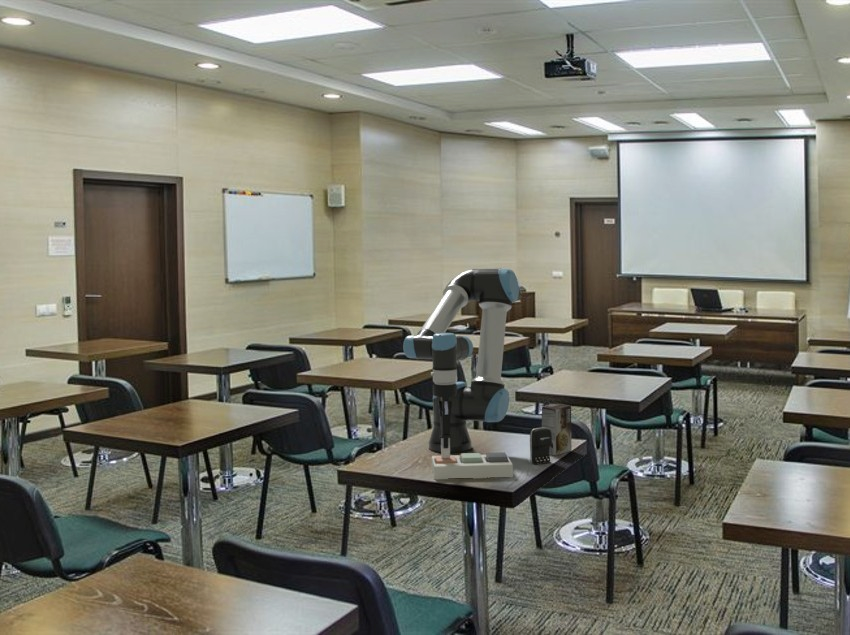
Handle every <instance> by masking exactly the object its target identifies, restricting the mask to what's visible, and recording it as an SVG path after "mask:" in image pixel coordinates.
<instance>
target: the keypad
mask: <svg viewBox="0 0 850 635" xmlns="http://www.w3.org/2000/svg"><path fill="white" fill-rule="evenodd" d="M480 455H481V457H482V463H461V454H459V455H458V454H457V455H456V454H455V455H454V454H450V456H455V459H456V463H445V464H436V456H437V455H432V456H431V470H432V475H433V478H434V479H435V480H449V479H448V478H473V479H490V478H489V477H511V478H514V471H513V470H514V468H513V467H514V466H513V465H514V464H513V462H512V461H511V460H510V458H509V456H508V454H507V453H506V455H507V457H508V462H486V454H480ZM487 477H488V478H487Z"/></svg>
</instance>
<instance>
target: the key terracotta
mask: <svg viewBox="0 0 850 635" xmlns="http://www.w3.org/2000/svg"><path fill="white" fill-rule="evenodd" d="M435 456H436V464H445V463H456V459H455V456H450V458H441V455H435Z"/></svg>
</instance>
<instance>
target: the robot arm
mask: <svg viewBox="0 0 850 635" xmlns="http://www.w3.org/2000/svg"><path fill="white" fill-rule="evenodd" d="M519 292H520V288H519V281H518V278H517V276H516V273H515V272H514V271H513V269H510V268H501V267H500V268H471V269H467V270H465V271H463V272H460V273H459V274H458V275H456V276H455V277H454V278H452V279H451V280H450V281H449V282H448V283H447V285H446V286H445V287H444V289H443V292H442V297H441V299H440V300H439V301H438V303H437V305H436V306H435V307H434V309H433V310H432V312H431V313H430V315H429V316H428V318H427V320H426V321H425V322H424V323H423V325H422V327H421V328H420V329H419V331H418V332H417V334H416V335H415V334H412V335H407V336H406V337H405V338H404V341H403V345H402V347H403V353H404V356H405V357H407V358H409V359H416V360H432V372H430V376H432V382H433V384H432V407H433V408H432V412H433V413H432V415H433V417H432V418H433V427H432V431H431V434H430V437H429V441H428V449H429V450H430V451H433V452H437V453H438V452H440V453H441V454H440V456H441V458H450V455H451V453H460V452H466V451H469V450H471V449H472V446H473V445H472V439H471V437H470V434H469V431H468V427H467V421H472V422H473V421H475V422H485V423H499V422H501V421H502V420H503V419H504V418H505V417H506V415H507V413H508V411H509V406H510V392H509V390H508V389H506V388H505V383H504V381H502V371H503V370H502V367H503V360H504V359H503V357H504V346H505V337H506V326H507V325H506V324H507V313H508V312H509V311H510V310H511V309H512V306H513V303H515V302H517V301H518V300H519V296H520V293H519ZM470 302H478V306H479V307H480V308H481V310H482V312H481V321H480V322H481V323H480V334H479V344H478V351H477V352H478V354H477V364H476V373H475V377H474V378H472V380H471V382H470V386H467V382H465V381H458V368H457V367H458V364H457V362H458V361H464V360H466V359H468V358H469V357H470V356H471V355H472V353H473V351H474V345H473V342H472V340H471V339H470V338H469V337H468V336H466V335H465V336H464V335H457V336H456V334H455V332H454V333H453V332H447V330H448V329H449V327H450V326H451V324H452V322H454V319H455V318H456V316H457V315H458V313H459V312H460V310H461V309H462V308H464V307H466V306H467V304H468V303H470Z"/></svg>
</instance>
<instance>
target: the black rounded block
mask: <svg viewBox="0 0 850 635" xmlns="http://www.w3.org/2000/svg"><path fill="white" fill-rule="evenodd" d="M550 444H552V433H551V430H550V429H547V428H544V427H543V428H542V427H536V428H533V429H532V430H530V433H529V449H530V450H529V452H530V453H529V454H530V459H529V460H530V461H529V462H530V463H531V464H533V465H542V464H548V463H550V462H551V457H550V454H549V446H550Z"/></svg>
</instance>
